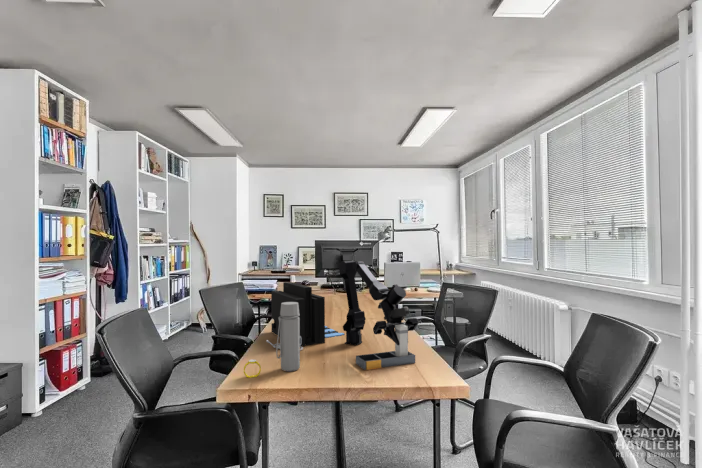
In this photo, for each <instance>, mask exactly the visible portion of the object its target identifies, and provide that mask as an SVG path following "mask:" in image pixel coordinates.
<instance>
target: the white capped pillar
mask: <svg viewBox="0 0 702 468" xmlns="http://www.w3.org/2000/svg"><path fill="white" fill-rule="evenodd" d="M394 329H395V333H396V335H397V338H398V340H399V343H400V344H399V345H397V344H396V343H395V342H394V343H395V344H394V346H395V347H394V351H395V355H396V356H398V357H400V356H408V351H409V331H408V326H406V325H403V324H401V325H395V328H394Z"/></svg>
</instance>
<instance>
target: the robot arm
mask: <svg viewBox="0 0 702 468" xmlns="http://www.w3.org/2000/svg"><path fill="white" fill-rule="evenodd" d="M338 271H339V274H340V276H341V277H342V279H344V285H345V293H346V299H347V305H348V310H347V314H346V320H345V322H344V323H343V325H342V329H343V331H344V332H345V334H346V335H345V339H346V340H345V342H344V345H351V346H359V345H360V344H363V341H362V337H363V335H362V331H363V330H364V328H365V324H366V317H365V311H364V310H362V309H361V308H360V305H359V304H360V303H359V298H358V293H357V292H358V290H357V285H356V276H357V274H358V275H359V277H360V278H361V279H362V280H363V282H364V283H365V284H366V285H367V287H368V293H369V294H370V297H371V298H372V300H373V301H380V302H379V303H378V306H377V309H379V310H382V312H383V315H384V317H383V320H377V321H376V322H375V324H374V326H373V327H372V332H373V334H374V335H382V333H383V335H384V336H386V337H388V338H389V339H390V340H392V342H394V343H396V344H397V345H399V344H400V343H399V340H398V338H397V335H396V333H395V325H401V324H403V325H406V326H408V332H413V331H415V330H416V328H417V327H418V325H419V323H420V322H419V320H418V318H417V317H412V318H407V320H406V321H404V317H407V316H408V315H409V314H410V309H409V307H408V306H403V307H399V308H398V307H397V308H396V306H397V305H399V304H400V303H401V302H402V301H403V299H405V297H406V296H407V292H406V290H405V289H404V288H403V287H401V286H399V285H398V284H393V285H392V286H391V288H390V289H389V287H388V286H386V285H385V284H384V283H383V282H380V281H379V280H377V278H376V277H375V276H374V274H373V273H372V272H371V271H370V269H369V268H368V266H366V263H365V262H364V261H362V260H355V261H354V260H341V261H340V262H339V264H338ZM402 321H403V322H402ZM383 331H384V332H383Z"/></svg>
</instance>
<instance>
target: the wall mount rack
mask: <svg viewBox="0 0 702 468" xmlns="http://www.w3.org/2000/svg"><path fill="white" fill-rule="evenodd" d="M265 342H266V343H268V344H270V345H271V346H272V348H275V349H276V348H277V343H275V344H273V343H272V342H271V341H270V340H268V339H266V341H265ZM301 344H302V338H301V336H300V345H301ZM278 349H279V350H280V342H278ZM278 349H277V350H278ZM302 350H304V346H303V347H301V346H300V351H302Z"/></svg>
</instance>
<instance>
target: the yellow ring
mask: <svg viewBox="0 0 702 468" xmlns="http://www.w3.org/2000/svg"><path fill="white" fill-rule="evenodd" d="M249 364H256V365H258V366H259V370H258V372H257V373H256V374H253V375H248V374H247V373H246V371H245V370H246V367H248V365H249ZM261 369H262V368H261V364H260V363H259V361H257V359H249V360H248V362H246V363H245V364H244V365H243V374H244V376H245V377H246V378H250V379H251V378H257V377H258V376H259V375H260V374H261V372H262V370H261Z"/></svg>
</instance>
